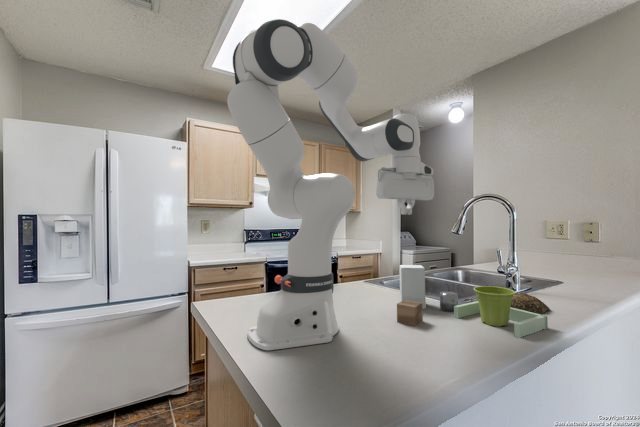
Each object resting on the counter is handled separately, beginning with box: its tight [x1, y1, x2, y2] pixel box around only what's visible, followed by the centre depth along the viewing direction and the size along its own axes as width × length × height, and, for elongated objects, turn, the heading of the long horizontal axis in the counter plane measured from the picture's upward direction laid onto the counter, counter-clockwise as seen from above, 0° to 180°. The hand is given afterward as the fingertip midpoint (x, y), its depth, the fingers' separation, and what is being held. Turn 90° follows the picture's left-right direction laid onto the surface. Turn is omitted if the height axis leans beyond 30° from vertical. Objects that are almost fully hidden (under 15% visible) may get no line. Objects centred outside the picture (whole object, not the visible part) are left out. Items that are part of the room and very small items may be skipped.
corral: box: [453, 300, 549, 338], centre depth 78 cm, size 12×17×3 cm
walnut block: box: [396, 300, 424, 327], centre depth 80 cm, size 5×5×5 cm
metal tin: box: [439, 290, 459, 313], centre depth 90 cm, size 5×5×5 cm
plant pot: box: [473, 285, 516, 327], centre depth 78 cm, size 9×9×9 cm
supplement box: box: [398, 264, 427, 310], centre depth 95 cm, size 7×7×13 cm
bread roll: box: [511, 292, 551, 315], centre depth 91 cm, size 13×12×5 cm
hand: (406, 214), depth 90 cm, fingers closed
